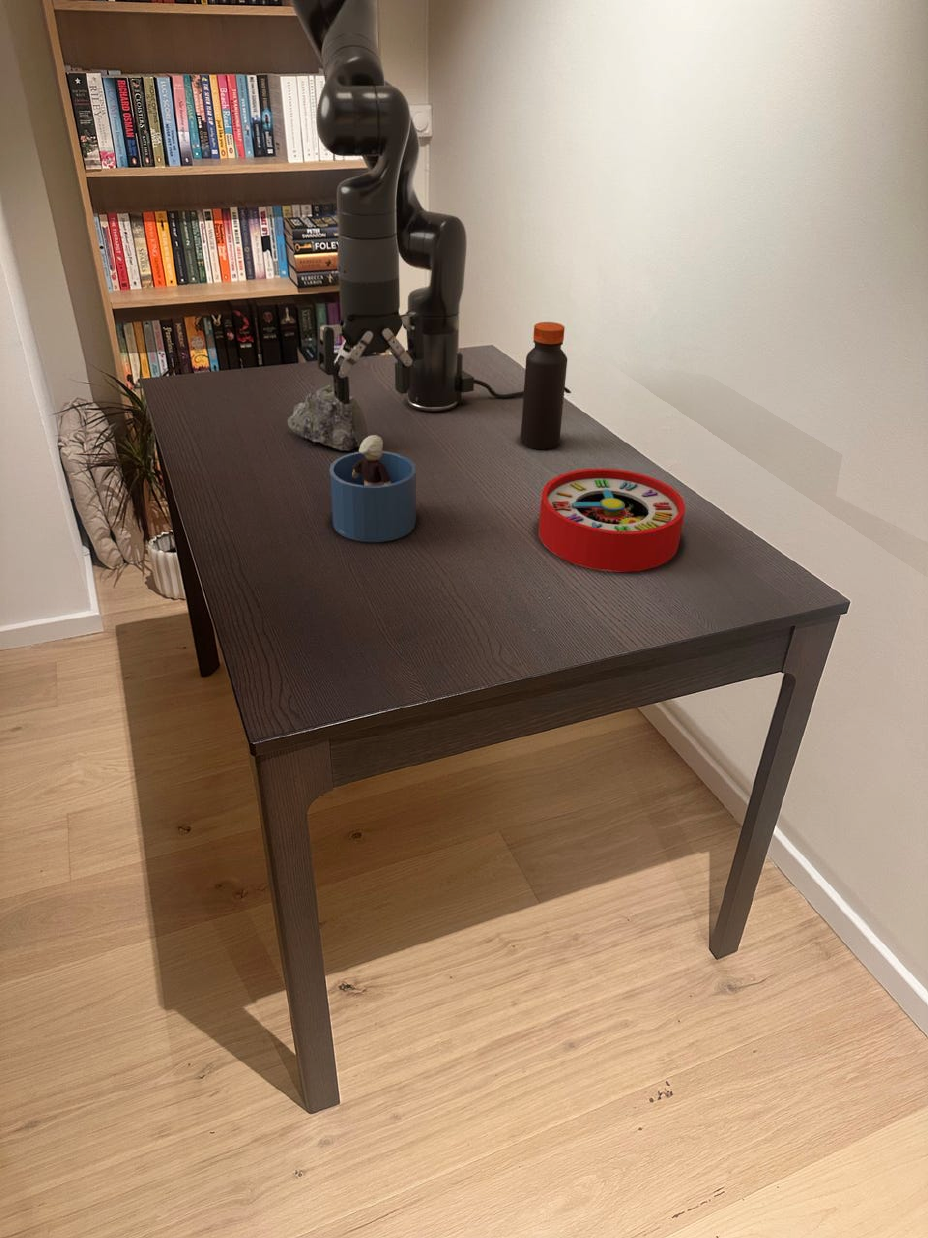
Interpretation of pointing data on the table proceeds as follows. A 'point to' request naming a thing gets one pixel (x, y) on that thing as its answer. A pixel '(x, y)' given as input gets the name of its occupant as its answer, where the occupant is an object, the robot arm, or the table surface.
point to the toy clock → (611, 519)
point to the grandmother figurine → (371, 463)
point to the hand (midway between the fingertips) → (373, 396)
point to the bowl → (373, 499)
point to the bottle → (544, 387)
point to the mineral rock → (329, 420)
